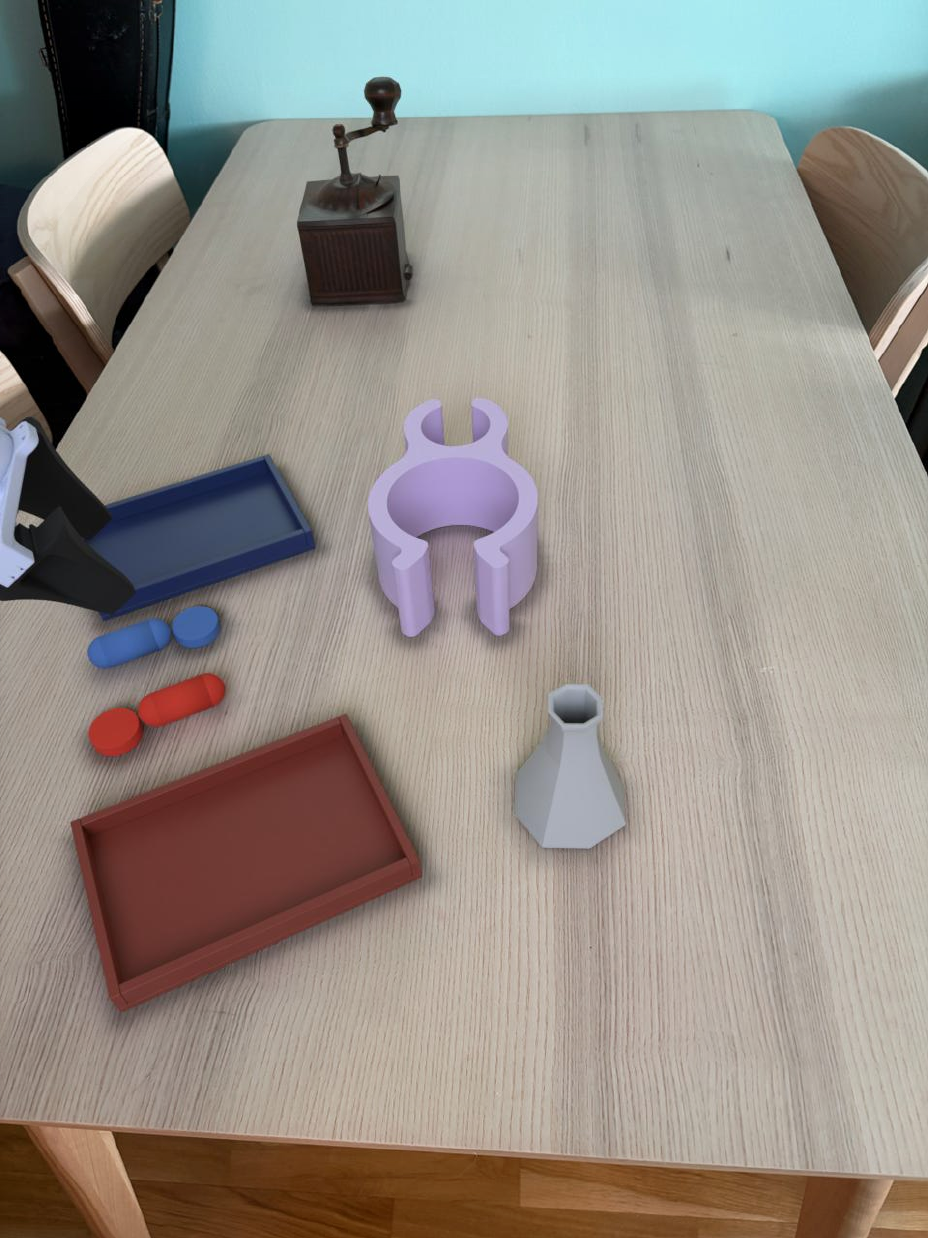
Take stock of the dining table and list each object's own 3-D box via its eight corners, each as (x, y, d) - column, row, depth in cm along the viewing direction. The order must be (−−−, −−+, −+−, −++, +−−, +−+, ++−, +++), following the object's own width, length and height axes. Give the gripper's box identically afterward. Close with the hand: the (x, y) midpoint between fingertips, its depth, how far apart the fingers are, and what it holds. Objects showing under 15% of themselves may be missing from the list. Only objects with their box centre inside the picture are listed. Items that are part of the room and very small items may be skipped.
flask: (532, 866, 58) (533, 773, 51) (497, 770, 63) (494, 672, 56) (644, 835, 60) (662, 739, 52) (602, 742, 64) (612, 643, 57)
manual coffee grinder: (411, 302, 104) (395, 126, 91) (309, 307, 104) (278, 132, 91) (415, 235, 115) (401, 68, 102) (322, 239, 115) (296, 74, 102)
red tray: (120, 1013, 54) (109, 999, 52) (80, 838, 61) (69, 821, 60) (422, 877, 58) (420, 860, 57) (350, 730, 66) (346, 712, 64)
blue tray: (103, 621, 74) (94, 603, 73) (76, 534, 81) (68, 515, 80) (315, 548, 78) (312, 530, 77) (273, 471, 86) (269, 453, 84)
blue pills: (213, 609, 74) (206, 586, 73) (226, 638, 72) (218, 616, 70) (89, 652, 72) (78, 631, 70) (98, 684, 70) (87, 663, 68)
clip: (389, 466, 85) (381, 400, 80) (532, 463, 85) (532, 396, 80) (370, 637, 72) (359, 570, 67) (540, 635, 71) (541, 566, 66)
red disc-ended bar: (98, 764, 65) (86, 743, 63) (88, 727, 67) (76, 706, 65) (235, 712, 67) (227, 690, 66) (221, 678, 70) (213, 656, 68)
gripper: (-38, 448, 43) (185, 591, 53) (-57, 313, 53) (134, 455, 63) (-144, 553, 44) (95, 674, 54) (-144, 402, 54) (59, 528, 64)
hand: (111, 562), depth 58 cm, fingers open, 7 cm apart
